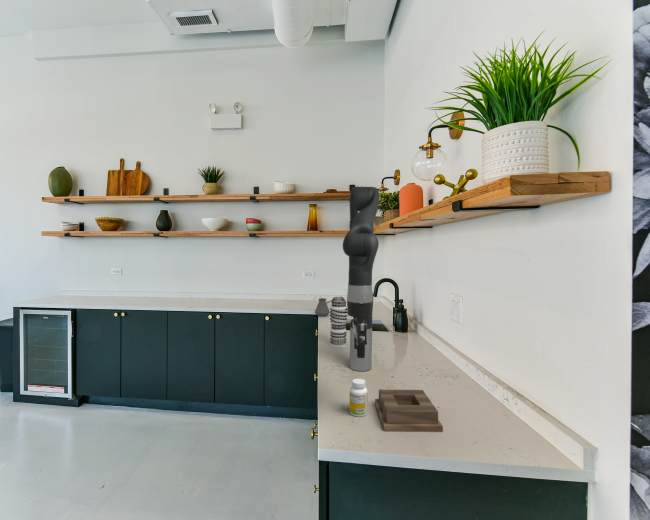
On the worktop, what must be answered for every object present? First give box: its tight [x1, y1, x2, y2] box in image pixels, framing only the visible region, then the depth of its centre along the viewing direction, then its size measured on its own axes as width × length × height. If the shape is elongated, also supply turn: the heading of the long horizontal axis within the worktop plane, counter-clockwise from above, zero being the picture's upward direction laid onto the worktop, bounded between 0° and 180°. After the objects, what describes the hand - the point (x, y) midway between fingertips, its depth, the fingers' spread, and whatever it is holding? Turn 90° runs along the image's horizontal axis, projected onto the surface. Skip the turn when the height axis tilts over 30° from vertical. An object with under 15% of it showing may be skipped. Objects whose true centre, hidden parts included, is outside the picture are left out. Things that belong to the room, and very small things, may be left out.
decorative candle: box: [329, 296, 348, 348], centre depth 168 cm, size 9×9×25 cm
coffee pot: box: [314, 297, 332, 317], centre depth 245 cm, size 21×12×15 cm, turn 84°
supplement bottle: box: [348, 378, 368, 417], centre depth 97 cm, size 5×5×10 cm
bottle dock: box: [374, 388, 444, 433], centre depth 95 cm, size 16×16×5 cm
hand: (359, 353), depth 97 cm, fingers open, 8 cm apart
